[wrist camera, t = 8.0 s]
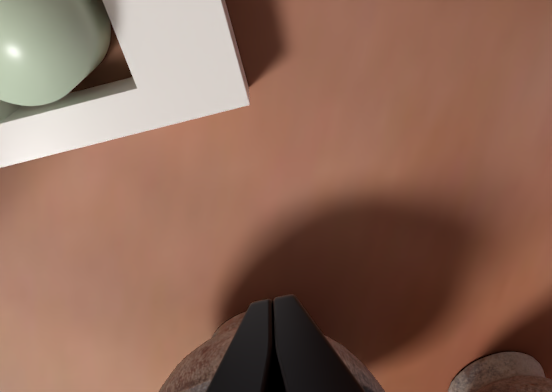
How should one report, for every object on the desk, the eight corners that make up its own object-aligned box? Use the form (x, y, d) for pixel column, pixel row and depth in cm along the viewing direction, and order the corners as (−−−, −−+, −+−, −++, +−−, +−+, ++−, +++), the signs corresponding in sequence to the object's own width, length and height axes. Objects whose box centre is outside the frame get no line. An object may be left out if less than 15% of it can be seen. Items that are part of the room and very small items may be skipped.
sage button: (80, -58, 15) (46, -56, 12) (128, 64, 17) (108, 88, 14) (-35, -26, 15) (-93, -17, 12) (25, 91, 17) (-14, 119, 14)
